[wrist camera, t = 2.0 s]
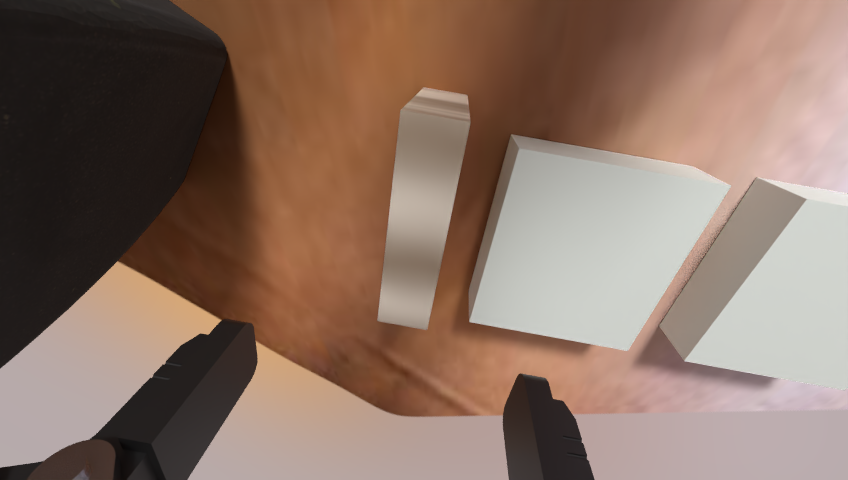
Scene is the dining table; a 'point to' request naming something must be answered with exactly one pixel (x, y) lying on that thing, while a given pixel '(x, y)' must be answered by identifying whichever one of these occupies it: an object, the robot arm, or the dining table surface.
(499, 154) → the dining table surface
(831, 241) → the slotted board
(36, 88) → the flower pot
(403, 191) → the beige metallic bar
